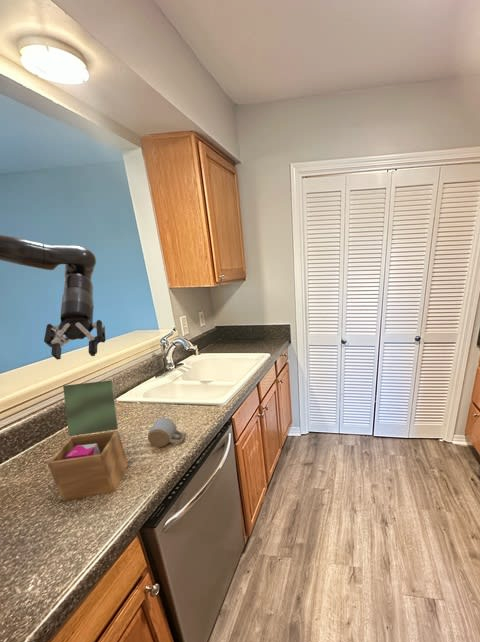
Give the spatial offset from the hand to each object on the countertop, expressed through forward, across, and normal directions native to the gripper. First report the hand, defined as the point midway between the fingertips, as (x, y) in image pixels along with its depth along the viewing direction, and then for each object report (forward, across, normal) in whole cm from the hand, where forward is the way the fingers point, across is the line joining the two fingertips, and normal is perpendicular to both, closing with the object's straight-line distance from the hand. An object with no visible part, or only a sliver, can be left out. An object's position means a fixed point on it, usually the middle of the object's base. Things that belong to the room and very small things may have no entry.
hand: (74, 356), depth 87 cm
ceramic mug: (+18, +16, +32) cm, 40 cm away
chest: (+32, 0, +17) cm, 36 cm away
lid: (+11, 0, +10) cm, 15 cm away
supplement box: (+32, -1, +16) cm, 36 cm away
